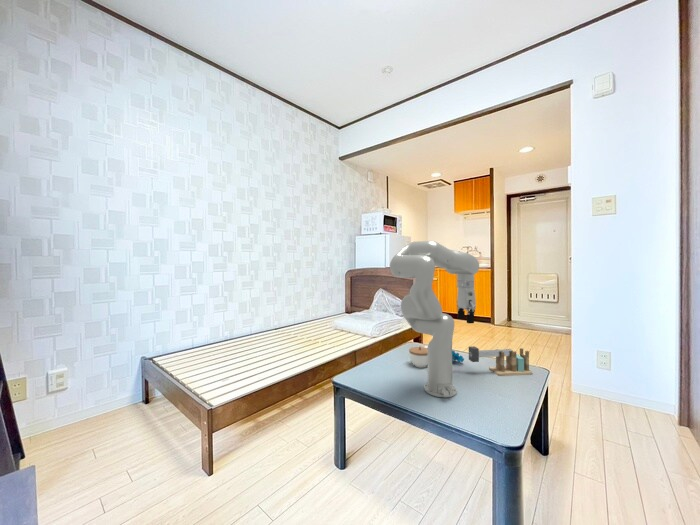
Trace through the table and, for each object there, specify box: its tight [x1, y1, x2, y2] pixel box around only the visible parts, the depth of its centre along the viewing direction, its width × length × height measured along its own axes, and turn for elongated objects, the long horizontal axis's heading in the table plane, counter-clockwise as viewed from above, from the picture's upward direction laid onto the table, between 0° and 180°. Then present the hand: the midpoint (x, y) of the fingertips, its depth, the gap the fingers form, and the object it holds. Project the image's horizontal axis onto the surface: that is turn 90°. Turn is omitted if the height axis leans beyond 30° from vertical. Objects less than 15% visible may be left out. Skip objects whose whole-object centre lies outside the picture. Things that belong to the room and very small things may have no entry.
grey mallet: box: [468, 346, 514, 363], centre depth 133 cm, size 4×20×6 cm, turn 95°
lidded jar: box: [408, 345, 428, 368], centre depth 144 cm, size 11×11×9 cm
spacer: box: [516, 353, 524, 372], centre depth 135 cm, size 6×2×6 cm, turn 175°
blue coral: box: [452, 349, 465, 363], centre depth 146 cm, size 11×6×10 cm
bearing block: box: [488, 347, 533, 377], centre depth 134 cm, size 8×16×10 cm, turn 95°
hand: (465, 321), depth 134 cm, fingers open, 9 cm apart
